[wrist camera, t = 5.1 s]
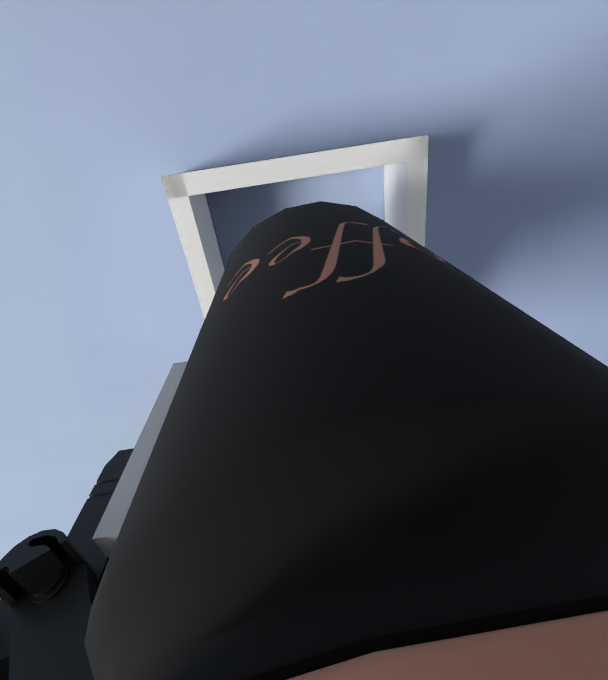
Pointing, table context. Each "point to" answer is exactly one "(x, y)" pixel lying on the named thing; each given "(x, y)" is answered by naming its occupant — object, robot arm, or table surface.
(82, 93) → the table surface
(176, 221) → the frame
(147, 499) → the coffee jar
